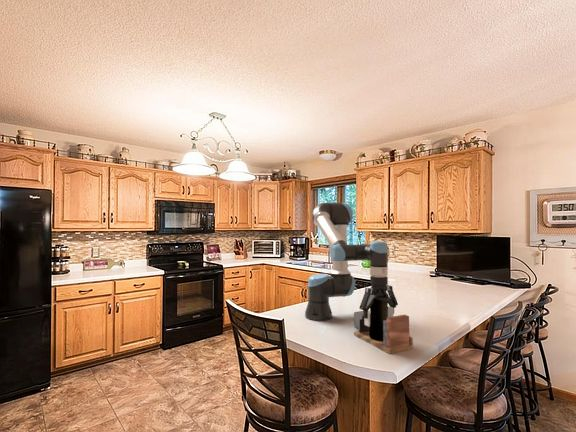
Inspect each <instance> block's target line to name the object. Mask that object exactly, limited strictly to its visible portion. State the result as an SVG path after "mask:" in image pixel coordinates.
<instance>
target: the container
mask: <svg viewBox="0 0 576 432" xmlns="http://www.w3.org/2000/svg"><path fill="white" fill-rule="evenodd" d="M373 296H374V295H373ZM389 298H390V297H389ZM389 298H388V297H385V296H383V297H377V298H376V299H374V302H373V304H372V305H371V307H370V309H369V311H370V331H369V332H370V333H369V337H370V338H371V339H373V340H377V341H384V338H383V321H384V320H387V318H388V305H389V304H388V300H389Z"/></svg>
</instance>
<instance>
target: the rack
mask: <svg viewBox="0 0 576 432" xmlns="http://www.w3.org/2000/svg"><path fill="white" fill-rule="evenodd" d="M369 333H370V332H369V331H366V332H361V333H359V330H357V331H354V332H353V336H354V337H357V338H358V339H360V340H363V341H364V342H366V343H367V344H369V345H372V346H374V347H375V348H378V349H379V350H381V351H383V352H385V353H386V354H389V355H391V354H395V353H399V352H400V353H401V352H403V351H407V350H413V349H414V336H413V337H412V336H410V316H409V315H407V314H400V315H395V316H394V315H393V317H388V318H387V320H384V321H383V338H384V341H377V340H373V339H371V338H370V337H369Z"/></svg>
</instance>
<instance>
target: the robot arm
mask: <svg viewBox="0 0 576 432" xmlns="http://www.w3.org/2000/svg"><path fill="white" fill-rule="evenodd" d="M353 217H354V215H353V209H352V208H351V206H350V205H349V204H348V203H345V202H344V203H343V202H321V203H319V204H317V205H316V206H315V207H314V208H313V210H312V214H311V218H312V219H311V220H312V222H313V224H314V225H315V226H316V227H318V228H319V230H320V232H321V233H322V235H323V237H324V238H325V240H326V242H327V243H328V246H329V248H330V249H329V256H330V259H331V260H332V270H331V272H330V276H329V274H328V273H316V274H313V275H310V276H309V278H308V282H307V297H308V298H307V301H308V302H307V305H306V308H305V310H304V317H305V318H306V319H308V320H311V321H329V320H330V319H332V318H333V313H332V309H331V305H330V298H337V297H338V298H339V297H344V298H345V297H349V296H351V295H353V293H354V291H355V289H356V281H355V277H354V276H353V275H352V274H351V271H350V270H349V263H348V262H349V261H350V262H352V261H353V262H354V261H355V262H357V261H368V262H369V263H370V265H369V266H370V267H369V275H370V277H369V279H370V280H369V281H370V286H371V287H367V286H366V287H365V288H364V289H365V290H364V294H363V297H362V299H361V302H360V305H359V310H360V311H363V317H364V318H365V325H366V326H368V327H369V326H370V307H371V305H372V304H373V302H374V299H376V298H377V297H383V296H385V297H388V298H389V300H388V305H389V306H388V317H393V316H394V314H395V308H397V306H398V305H399V303H398V301H397V298H396V296H395V293H394V290H393V289H394V288H393V285H389V284H388V283H389V282H388V281H389V278H388V274H389V272H388V271H389V270H388V264H389V261H388V257H389V256H388V255H389V252H388V249H389V248H388V243H387V242H386V241H377V240H376V241H375V240H374V241H370V243H369V244H368V243H361V244H348V239H347V237H348V235H347V234H348V233H347V232H348V230H347V229H348V227H349V226H350V223H352V221H353ZM373 295H374V296H373Z"/></svg>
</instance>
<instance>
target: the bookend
mask: <svg viewBox="0 0 576 432" xmlns="http://www.w3.org/2000/svg"><path fill="white" fill-rule="evenodd" d="M353 329H356V330H357V331H359V333H361V332H366V331H370V326H369V327H368V326H366V325H365V318H364V317H363V310H360V311H354V312H353Z"/></svg>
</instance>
